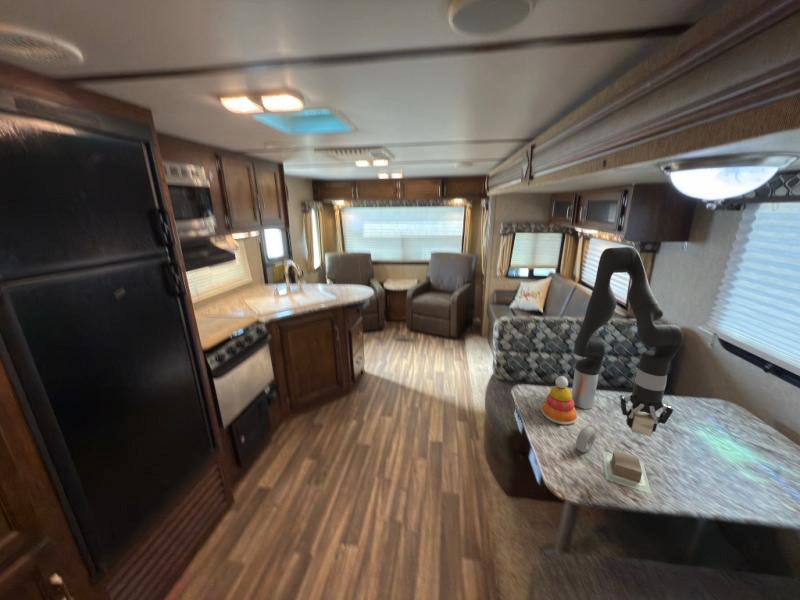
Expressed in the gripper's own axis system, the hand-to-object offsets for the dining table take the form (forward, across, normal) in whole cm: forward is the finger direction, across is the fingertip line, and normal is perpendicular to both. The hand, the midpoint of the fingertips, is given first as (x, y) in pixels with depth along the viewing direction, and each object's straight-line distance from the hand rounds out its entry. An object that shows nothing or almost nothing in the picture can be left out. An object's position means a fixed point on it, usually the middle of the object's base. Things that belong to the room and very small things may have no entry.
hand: (639, 428), depth 101 cm
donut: (+16, +14, -2) cm, 22 cm away
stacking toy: (+16, +23, -20) cm, 34 cm away
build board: (+16, +2, +4) cm, 17 cm away
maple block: (0, 0, 0) cm, 0 cm away
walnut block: (+15, +2, +4) cm, 16 cm away
